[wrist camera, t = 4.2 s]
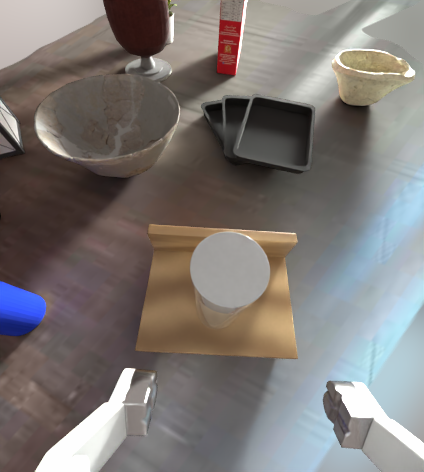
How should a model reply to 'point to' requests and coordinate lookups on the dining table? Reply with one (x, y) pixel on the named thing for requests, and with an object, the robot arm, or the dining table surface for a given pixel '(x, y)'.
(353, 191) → the dining table surface
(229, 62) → the food packaging
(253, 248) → the cylinder
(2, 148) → the lantern
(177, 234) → the wooden stand
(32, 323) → the beverage can
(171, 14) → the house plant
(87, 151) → the ceramic bowl
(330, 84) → the dining table surface
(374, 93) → the bowl
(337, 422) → the robot arm
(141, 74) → the mate gourd
